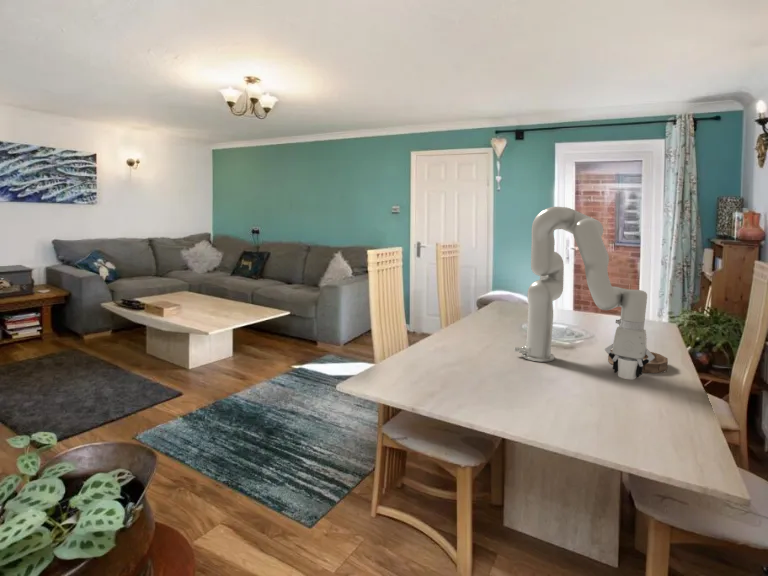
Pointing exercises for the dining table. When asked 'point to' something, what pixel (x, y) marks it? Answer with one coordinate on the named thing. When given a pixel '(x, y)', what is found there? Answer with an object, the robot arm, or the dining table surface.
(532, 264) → the robot arm
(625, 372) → the white cup
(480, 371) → the dining table surface
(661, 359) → the round wooden tray
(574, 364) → the dining table surface
